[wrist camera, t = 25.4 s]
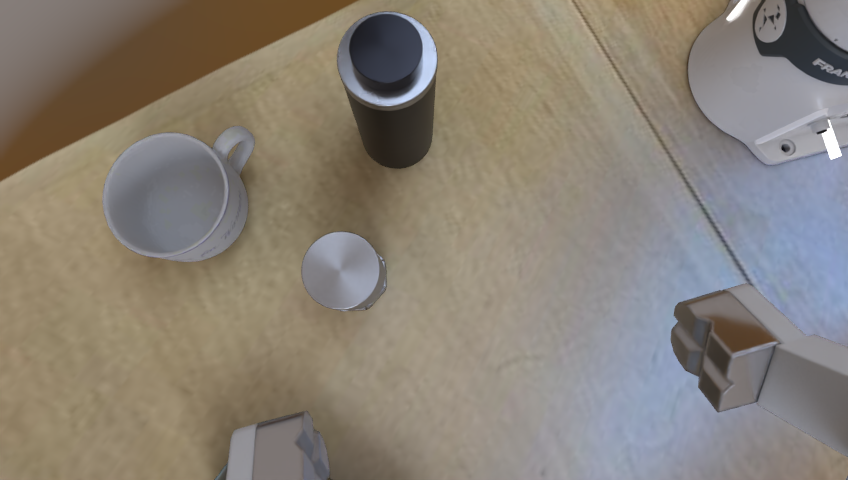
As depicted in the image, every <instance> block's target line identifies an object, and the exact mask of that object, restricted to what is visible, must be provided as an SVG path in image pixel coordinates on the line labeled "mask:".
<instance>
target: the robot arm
mask: <svg viewBox="0 0 848 480" xmlns="http://www.w3.org/2000/svg"><path fill="white" fill-rule="evenodd" d="M688 78H689V84H690V88H691V91H692V94H693V96H694V99H695V101H696V103H697V104H698V106H699V108H700V109H701V110H702V112H703V113H704V114H705V116H706V117H707V118H708V119H709V120H710V121H711V122H712V123H713V124H714V125H716V126H717V127H718V128H720V129H721V130H722V131H724V132H726V133H727V134H729V135H731V136H733V137H735V138H737V139H738V140H740V141H742V142H743V143H744V144H746V145H747V147H748V148H749V149H750V150H751V151H752V153H753V154H754V155H755V156H756V157H757V158H758V159H759V160H760V161H761V162H763V163H765V164H767V165H776V164H780V163H784V162H788V161H791V160H795V159H799V158H803V157H807V156H811V155H815V154H818V153H822V152H826V151H828V153H829V156H830V159H834V158H837V157H840V156H842V155H841V152H840V149H839V148H841V147H845V146H848V0H731V1H730V2H729V4H728V6H727V8H726V10H725V12H724V13H723V14H722V15H721V16H719V17H718V18H717V19H715V20H714V21H713V22H711V23H710V24H709V25H708V26H707V27H706V28H705V29H704V30H703V31H702V32H701V33H700V34H699V36H698V37H697V39H696V41H695V42H694V45H693V47H692V49H691V52H690V56H689V62H688ZM781 146H782V147H784V149H785V152H784V151H782V149H781ZM674 316H675V318H676V319H677V320H678V323H677V324H676V325H675V326H674V327H673V328H672V331H671V343H672V347H673V351H674V353H675V355H676V357H677V359H678V361H679V362H680V364H681V365H682V366H683V368H684V369H685V370H686V371H688V372H690V373H692V374H694V375H696V376H698V377H699V381H698V388H699V389H700V390H701V391H702V393H703V394H704V395H705V397H706V398H707V399H708V400H709V402H710V403H711V404H712V406H713V407H714V408H715V409H716V411H717V412H722V411H726V410H729V409H733V408H737V407H741V406H744V405H748V404H752V403H755V402H757V405H759V406H760V407H762V408H764V409H766V410H767V411H769V412H771V413H772V414H774V415H776V416H778V417H779V418H781V419H783V420H785V421H786V422H788V423H790V424H791V425H793V426H795V427H797V428H798V429H800V430H802V431H803V432H805V433H807V434H809V435H810V436H812V437H814V438H815V439H817V440H819V441H821V442H822V443H824V444H826V445H827V446H829V447H831V448H833V449H834V450H836V451H838V452H840V453H841V454H843V455H845V456H846V457H848V347H846V346H844V345H841V344H838V343H835V342H833V341H830V340H827V339H825V338H822V337H819V336H817V335H810V336H806V335H805V334H804V333H803V332H802V331H801V330H800V329H799V328H798V327H797V326H796V325H794V324H793V323H792V322H791V321H790V320H789V319H788V318H787V317H786V316H785V315H784V314H782V313H781V312H780V311H779V310H778V309H777V308H776V307H775V306H774V305H773V304H772V303H771V302H769V301H768V300H767V299H766V298H765V297H764V296H763V295H762V294H761V293H760V292H759V291H757V290H756V289H755V288H754V287H753V286H751V285H749V284H741V285H738V286H735V287H731V288H728V289H725V290H722V291H721V290H719V291H716V292H712V293H709V294H706V295H702V296H699V297H696V298H693V299H689V300H686V301H683V302H679V303H678V304H677V305H676V307H675V310H674ZM329 476H330V470H329V460H328V454H327V449H326V446H325V443H324V440H323V437H322V435H321V434H320V432H319V431H317V430H314V429H313V419H312V417H311V416H310V414H309V412H308V411H303V412H300V413H296V414H292V415H288V416H284V417H280V418H276V419H273V420H269V421H265V422H261V423H257V424H253V425H250V426H246V427H243V428H239V429H236V430H234V432H233V434H232V437H231V440H230V449H229V458H228V467H227V475H226V480H327V479H328V477H329ZM846 480H848V476H847V478H846Z"/></svg>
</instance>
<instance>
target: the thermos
mask: <svg viewBox="0 0 848 480" xmlns="http://www.w3.org/2000/svg"><path fill="white" fill-rule="evenodd" d="M437 63H438V55H437V49H436V45H435V42H434V40H433V38H432V36H431V34H430V33H429V32H428V30H427V29H426V28H425V27H424V26H423V25H422V24H421V23H420V22H418V21H417V20H416V19H414V18H412V17H410V16H408V15H405V14H402V13H398V12H388V11H384V12H377V13H373V14H370V15H367V16H365V17H363V18H361V19H360V20H358V21H357V22H355V23H354V24H353V25H352V26H351V27H350V28H349V29H348V30H347V31H346V33H345V34H344V36H343V38H342V40H341V42H340V44H339V48H338V53H337V66H338V71H339V74H340V77H341V80H342V82H343V85H344V87H345V90H346V93H347V96H348V99H349V102H350V105H351V108H352V111H353V114H354V117H355V120H356V123H357V126H358V129H359V132H360V135H361V138H362V141H363V144H364V147H365V149H366V151H367V153H368V154H369V155H370V157H371V158H372V159H373V160H375V161H376V162H377V163H379V164H381V165H383V166H385V167H389V168H406V167H409V166H412V165H414V164H415V163H417V162H418V161H420V160H421V159H422V158H423V157H424V156H425V155H426V153H427V152H428V150H429V148H430V145H431V142H432V132H433V116H434V100H435V84H436V72H437Z"/></svg>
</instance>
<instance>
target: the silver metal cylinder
mask: <svg viewBox="0 0 848 480" xmlns="http://www.w3.org/2000/svg"><path fill="white" fill-rule="evenodd" d="M301 273H302V280H303V284H304V286H305V288H306V290H307V292H308V293H309V295H310V296H311V297H312V298H313V299H314V300H315V301H316V302H317V303H319V304H321V305H322V306H325V307H327V308H331V309H336V310H340V311H355V310H367V308H370V307H371V306H372V305H373V304H374V303H375V302H376V300H377V299H378V298H379V297H380V296H381V295H382V294H383V293H384V291H385V290H386V289H385V288H386V287H387V281H386V263H385V261H384V259H383V258H382V257H381V256H380V255H379V254H377V252H376V251H375V250H374V248H373V247H372V246H371V244H370V243H369V242H368V241H367V240H365V239H364V238H363V237H361V236H359V235H357V234H354V233H351V232H345V231H338V232H332V233H329V234H326V235H324V236H322V237H320V238H319V239H317V240H316V241H315V242H314V243H313V244H312V245H311V246H310V247H309V249H308V250H307V252H306V254H305V256H304V259H303V262H302V270H301Z"/></svg>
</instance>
